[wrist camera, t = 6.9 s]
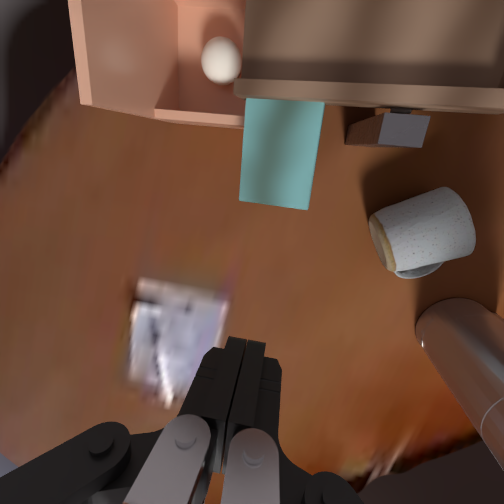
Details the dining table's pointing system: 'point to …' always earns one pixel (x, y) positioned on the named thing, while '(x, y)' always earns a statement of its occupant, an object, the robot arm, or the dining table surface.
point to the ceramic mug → (423, 233)
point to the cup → (156, 58)
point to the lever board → (355, 75)
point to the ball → (221, 60)
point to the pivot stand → (389, 131)
